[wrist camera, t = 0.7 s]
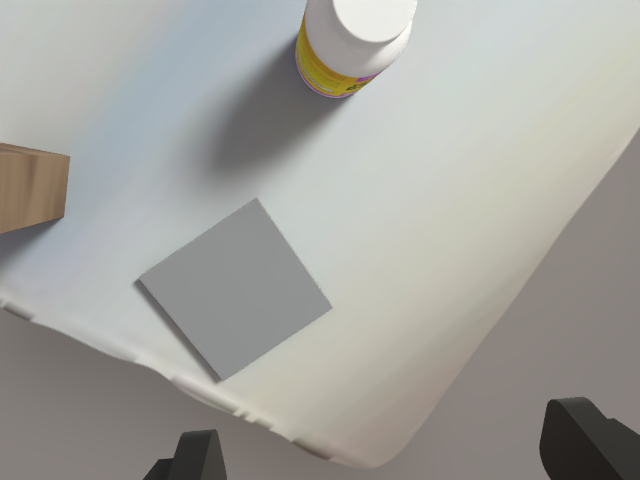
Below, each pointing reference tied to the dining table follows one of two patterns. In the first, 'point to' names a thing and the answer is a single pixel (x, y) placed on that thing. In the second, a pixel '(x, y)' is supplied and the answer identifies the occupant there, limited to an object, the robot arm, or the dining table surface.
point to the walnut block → (31, 186)
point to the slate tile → (237, 290)
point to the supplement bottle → (350, 42)
